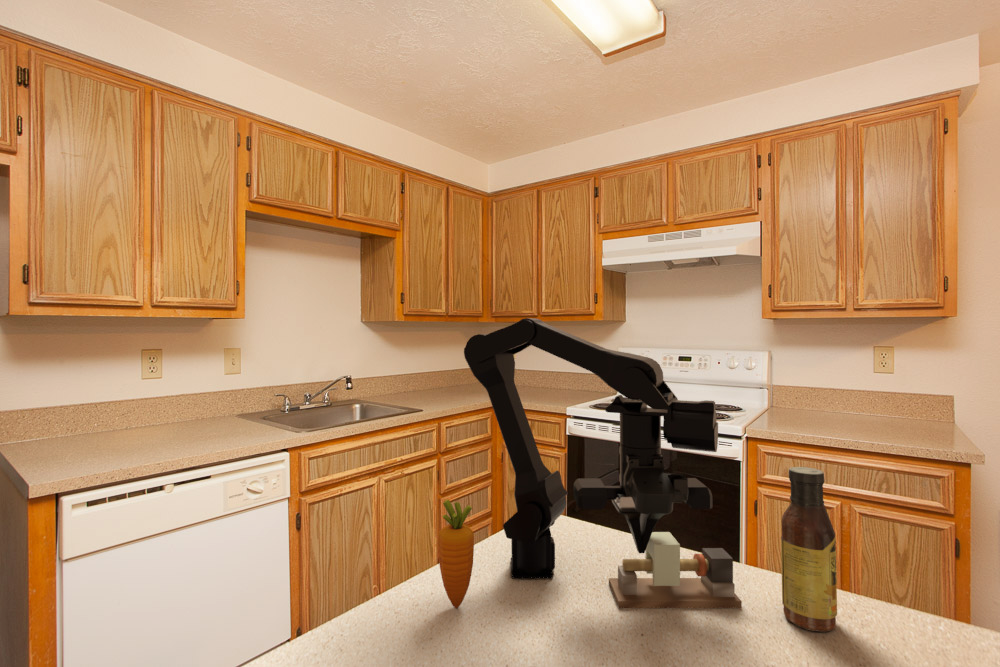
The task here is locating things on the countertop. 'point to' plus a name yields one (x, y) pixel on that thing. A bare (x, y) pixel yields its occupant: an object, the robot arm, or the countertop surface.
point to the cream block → (664, 559)
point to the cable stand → (691, 593)
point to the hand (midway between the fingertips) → (640, 552)
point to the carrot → (456, 553)
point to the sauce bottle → (808, 554)
